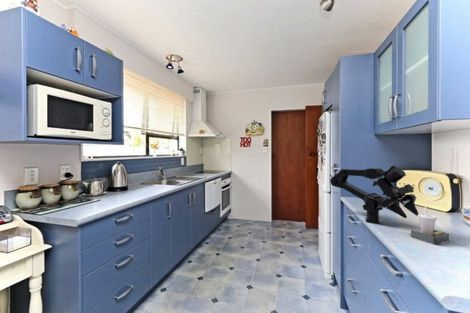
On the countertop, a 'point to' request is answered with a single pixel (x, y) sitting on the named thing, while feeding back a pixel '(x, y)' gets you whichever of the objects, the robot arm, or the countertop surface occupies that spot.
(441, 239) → the bracket
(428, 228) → the smoothie
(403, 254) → the countertop surface
